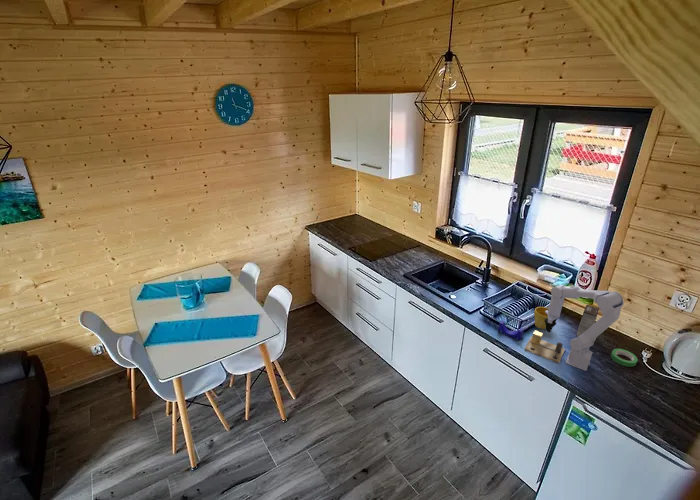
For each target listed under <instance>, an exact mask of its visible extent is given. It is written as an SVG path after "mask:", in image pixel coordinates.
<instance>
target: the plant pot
mask: <svg viewBox="0 0 700 500" xmlns="http://www.w3.org/2000/svg"><path fill="white" fill-rule="evenodd" d="M548 309H549V307H546V306H538V307H535V309H534V313H533V316H534V325H535V327H536V328H537V329H541V330H546V324H545V322H544V320H545V318H546V319H548V315H547V313H545V311H546V310H548Z"/></svg>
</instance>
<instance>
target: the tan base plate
mask: <svg viewBox="0 0 700 500" xmlns="http://www.w3.org/2000/svg"><path fill="white" fill-rule="evenodd" d="M532 337H533V335H532V336H530V337H529V339H528V342H526V345H525V347H524V349H525V350H524V349H523V350H524V351H526V350H527V351H526V352H528V351H530V352H529V353H531V352H533V353H532V354H534V353H535V354H534V355H536V354H537V356H539V357H541V356H542V358H544V359H546V358H547V360H549V361H551V360H552V361H551V362H554V363H557V364H560V362H561V360H562V357H563V355H564V352H565V350H566V348H565V347H563V345H564V344H563V343H562V342H557V343H556V344H554V343H551V342H548V341H546V340H543V339H541V342H540V344H539V345H538V344H535V346H534V349H532V347H533V345H534V343H532V342H531V341H532Z"/></svg>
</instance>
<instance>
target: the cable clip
mask: <svg viewBox="0 0 700 500" xmlns="http://www.w3.org/2000/svg"><path fill="white" fill-rule="evenodd" d="M505 322H506V321H504V320H501V321H500V322H499V325H498V330H497V331H498V332H499V331H500V330H502V333H501V334H503V333H505V334H504V335H506V334H507V335H506V336H508V335H509V336H508V337H510V336H511V338H513V337H514V338H513V339H515V338H517V337H518V339H519V340H518V341H521V339H522V338H523V337H522V336H524V328H522V327H520V328H519V330H513V331H512V330H510V329H508V327H506V324H505Z"/></svg>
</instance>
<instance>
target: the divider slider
mask: <svg viewBox="0 0 700 500" xmlns="http://www.w3.org/2000/svg"><path fill="white" fill-rule="evenodd" d="M543 335H544V333H543V332H540V331H538V330H534V331H533V334H532V341H531V342H532V343H534V345H533V347H532V349H534V346H535V344H538V345H539V344H540V342H541V340H543Z"/></svg>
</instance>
